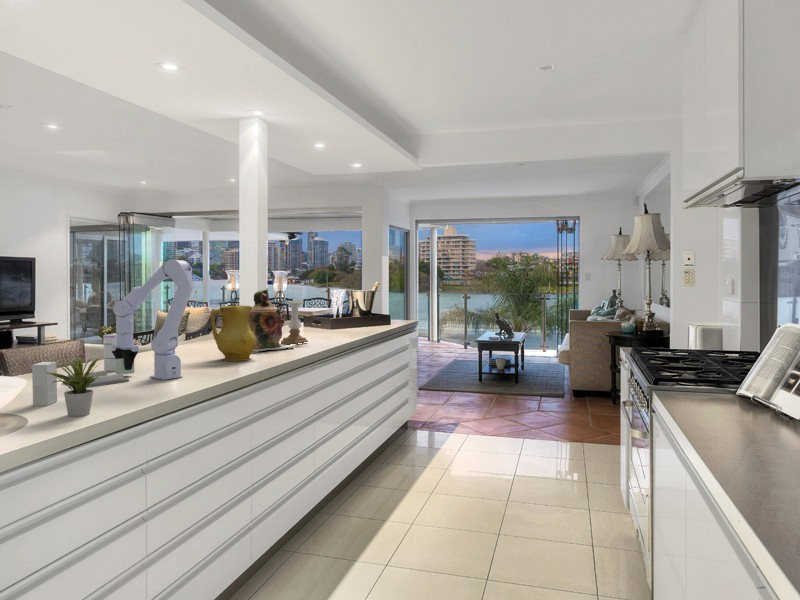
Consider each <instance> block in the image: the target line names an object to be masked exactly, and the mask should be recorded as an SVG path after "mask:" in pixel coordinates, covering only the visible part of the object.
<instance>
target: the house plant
mask: <svg viewBox="0 0 800 600" xmlns="http://www.w3.org/2000/svg"><path fill="white" fill-rule="evenodd" d="M64 359H65V360H66V362H68V363H69V365H70V366H71V368H72V370H73V371H72V370H71V369H70V368H69V367H68V366H67V365H66V364H63V363H59V362H57V361H52V362H53V363H57V367H59V368H61V369H62V370H63V371H64V372H66V374H67V375H64V374H61V373H47V374H51V375H54V376H56V377H57V381H54V382H57V383H59V382H62V384H63V385H65V386H67V387H68V388H69V389H70V390H67V391H64V392H63V396H64V401H65V406H66V411H67V416H68V417H74V418H78V417H85V416H88V415H90V413H91V408H92V401H93V396H94V390H93V389H88V387H87V386H88V385H89V384H90V383H92V382H94V381H97V380H94V379H100V378H94V377H98V376H90V375H89V376H88V374H89V372H91V373H92V372H94V370H92V369H96V368H97V367H98V366H99V365H100V363H98V361H99V360H101V359H104V356H103V357H98V358H95V357H92V358H90V359H88V360H86V361H87V362H86V363H85V365H84V364H83V362H82V357H81V355H79V356H78V360H77V359H76V358H75V357H72V359H73V363H72V362H71V361H70V360H69V359H67V358H66V357H64ZM93 359H94V360H93ZM91 360H93V361H92V362H91V363H90V364H89V365H88V363H89V362H90V361H91ZM97 363H98V364H97ZM58 364H59V365H58ZM96 364H97V365H96ZM87 365H88V368H87V370H86V371H85V369H86V367H87ZM95 365H96V366H95ZM73 372H74V373H73ZM83 373H85V375H84V377H83ZM91 373H90V374H91ZM68 375H69V376H70V377H71V379H70V378H69V377H68ZM71 375H73V377H72V376H71ZM56 377H54V378H56ZM87 377H88V378H87ZM92 378H93V379H92ZM65 381H66V382H65ZM54 382H53V383H54ZM64 382H65V383H67V384H65V383H64Z"/></svg>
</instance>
